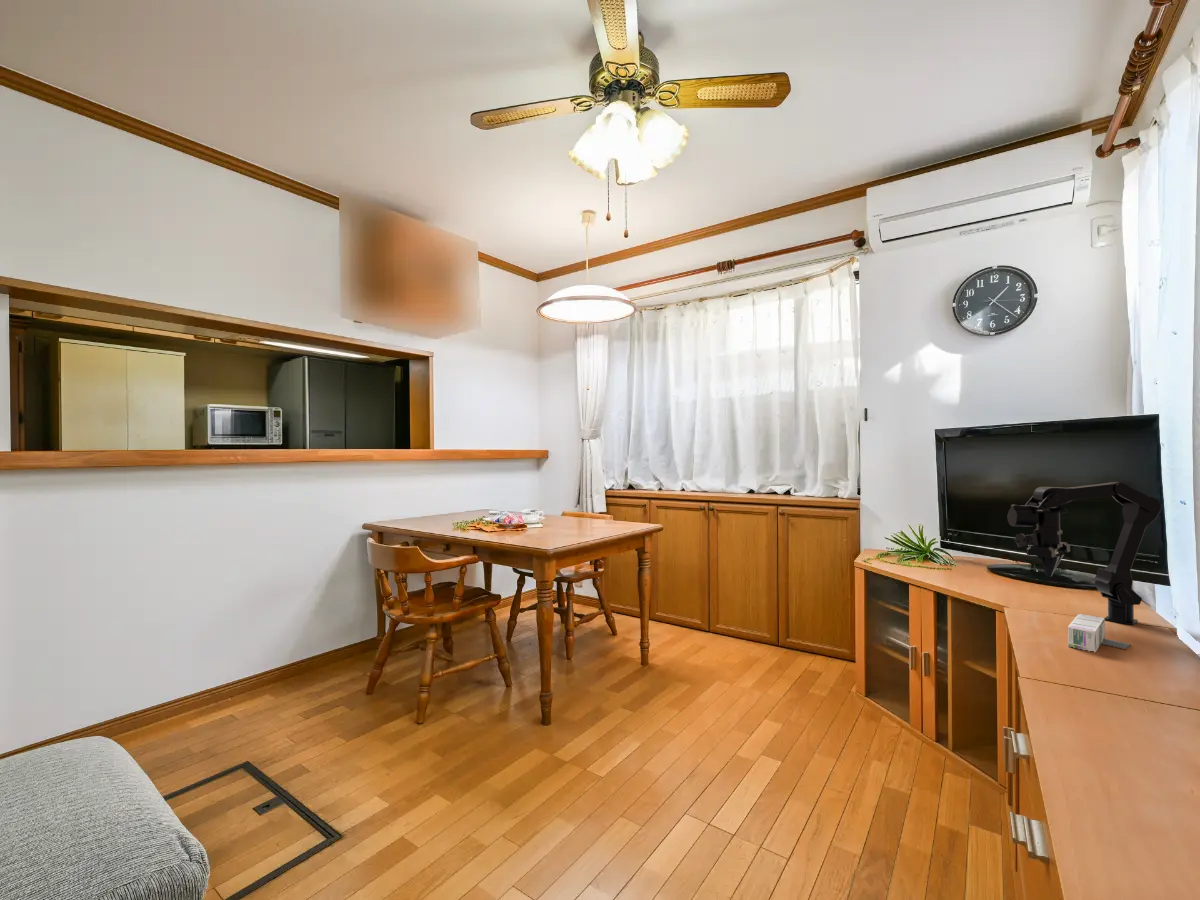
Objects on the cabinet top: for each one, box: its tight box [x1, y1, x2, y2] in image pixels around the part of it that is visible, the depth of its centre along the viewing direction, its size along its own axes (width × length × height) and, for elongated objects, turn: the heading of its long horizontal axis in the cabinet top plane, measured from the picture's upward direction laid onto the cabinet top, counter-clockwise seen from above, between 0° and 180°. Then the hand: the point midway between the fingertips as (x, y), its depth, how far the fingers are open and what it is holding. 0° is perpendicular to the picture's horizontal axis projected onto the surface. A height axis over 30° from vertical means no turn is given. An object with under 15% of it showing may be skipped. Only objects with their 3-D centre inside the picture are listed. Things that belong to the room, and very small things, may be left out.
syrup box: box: [1067, 613, 1106, 653], centre depth 147 cm, size 6×6×14 cm
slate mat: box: [1100, 638, 1132, 650], centre depth 148 cm, size 6×9×1 cm, turn 35°
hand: (1049, 576), depth 171 cm, fingers closed
